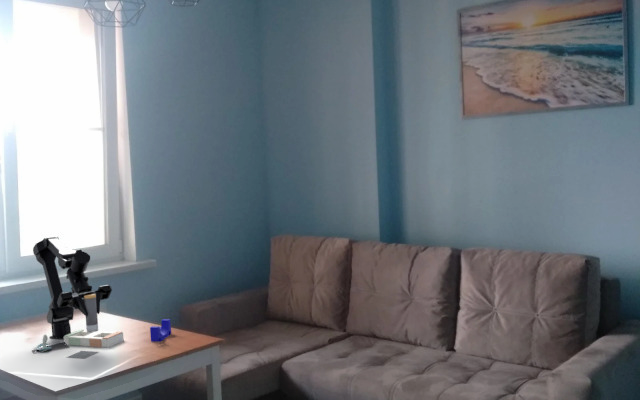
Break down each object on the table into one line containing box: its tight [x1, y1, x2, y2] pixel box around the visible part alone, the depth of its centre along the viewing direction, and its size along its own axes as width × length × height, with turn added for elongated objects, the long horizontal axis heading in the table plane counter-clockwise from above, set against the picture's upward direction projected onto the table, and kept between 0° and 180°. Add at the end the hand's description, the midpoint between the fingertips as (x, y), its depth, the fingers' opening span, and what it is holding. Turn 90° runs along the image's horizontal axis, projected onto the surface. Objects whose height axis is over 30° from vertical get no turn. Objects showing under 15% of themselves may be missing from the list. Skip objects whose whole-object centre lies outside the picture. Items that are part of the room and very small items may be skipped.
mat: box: [65, 350, 100, 360], centre depth 236 cm, size 8×8×1 cm
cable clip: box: [149, 318, 172, 342], centre depth 254 cm, size 12×4×6 cm, turn 170°
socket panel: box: [63, 329, 125, 348], centre depth 252 cm, size 20×9×4 cm, turn 70°
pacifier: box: [33, 334, 52, 354], centre depth 245 cm, size 7×6×6 cm
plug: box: [84, 294, 99, 332], centre depth 241 cm, size 4×4×13 cm
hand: (93, 314), depth 240 cm, fingers closed on plug, 4 cm apart
